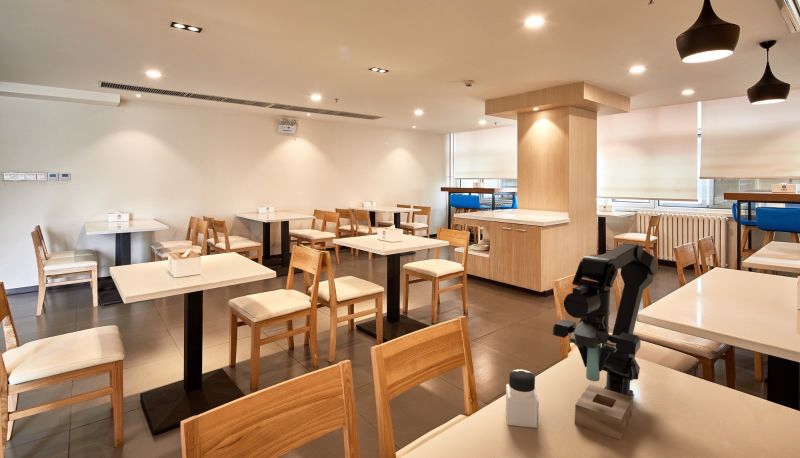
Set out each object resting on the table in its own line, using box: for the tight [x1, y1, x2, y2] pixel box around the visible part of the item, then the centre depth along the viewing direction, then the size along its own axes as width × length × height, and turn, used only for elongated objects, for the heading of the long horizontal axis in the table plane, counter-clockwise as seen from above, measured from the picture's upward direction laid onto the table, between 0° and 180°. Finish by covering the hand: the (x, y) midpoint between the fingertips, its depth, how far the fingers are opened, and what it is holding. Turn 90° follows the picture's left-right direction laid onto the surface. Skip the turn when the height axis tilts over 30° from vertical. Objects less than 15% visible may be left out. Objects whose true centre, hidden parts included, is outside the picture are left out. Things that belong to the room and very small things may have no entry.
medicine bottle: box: [505, 369, 540, 429], centre depth 100 cm, size 7×7×12 cm
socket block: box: [574, 383, 633, 441], centre depth 100 cm, size 12×10×5 cm
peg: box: [585, 344, 602, 382], centre depth 100 cm, size 3×3×9 cm
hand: (593, 368), depth 100 cm, fingers closed on peg, 3 cm apart
